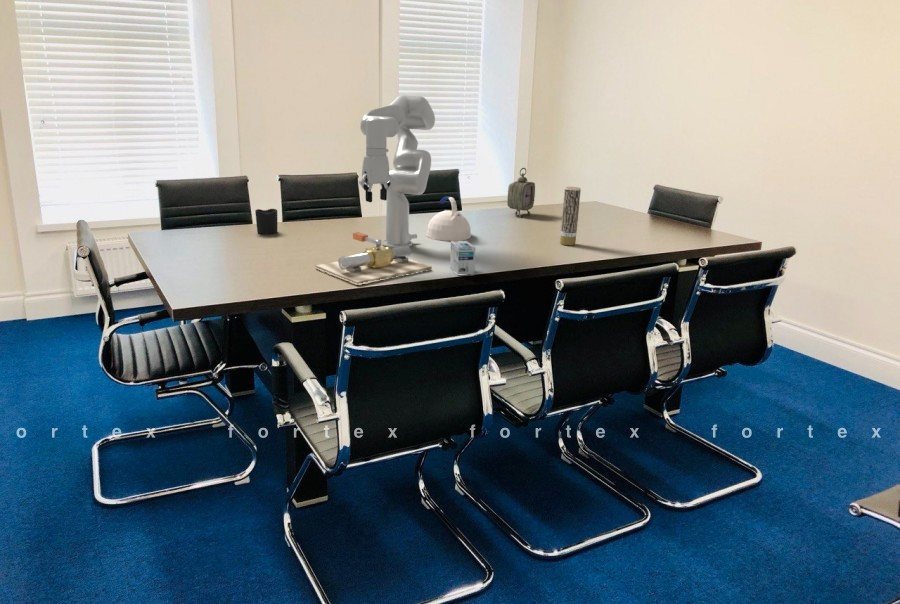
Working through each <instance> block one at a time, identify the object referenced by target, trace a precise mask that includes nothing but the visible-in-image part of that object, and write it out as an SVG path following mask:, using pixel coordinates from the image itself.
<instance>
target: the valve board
mask: <svg viewBox="0 0 900 604" xmlns="http://www.w3.org/2000/svg"><path fill="white" fill-rule="evenodd" d="M338 261H339V260H338ZM338 261H333V262H328V263H321V264H317V265H316V264H315V268H316V267H317V268H319V269H322V270H324V271H327V272H329V273H332V274H334V275H337V276H339V277H341V278H344V279H347V280H349V281H352V282H354V283H357V284H359V283H363V282H368V281H374V280H380V279H387V278H392V277H396V276H402V275H406V274H411V273H416V272H421V271H426V270H431V269H432V270H433V266H431V265H429V264H426V263H422V262H420V261H416V260H414V259H411V258H408V263H403V264H402V263H399V262H396V261H394V260H393V261H392V262H391V265H388V266H383V267H378V268H374V267H371V266H370V267H366V266H360V267H361V272H358V273H353V272H350V271H347V270H346V269H345V270H342V269H340V267H339V264H338ZM432 270H431V271H432ZM426 272H427V271H426ZM421 273H422V272H421Z"/></svg>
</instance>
